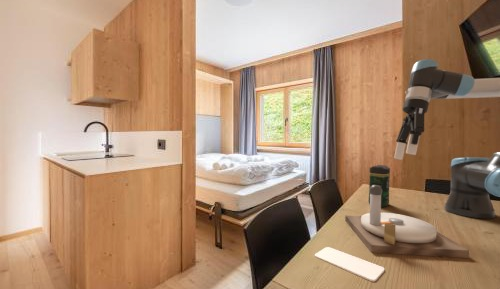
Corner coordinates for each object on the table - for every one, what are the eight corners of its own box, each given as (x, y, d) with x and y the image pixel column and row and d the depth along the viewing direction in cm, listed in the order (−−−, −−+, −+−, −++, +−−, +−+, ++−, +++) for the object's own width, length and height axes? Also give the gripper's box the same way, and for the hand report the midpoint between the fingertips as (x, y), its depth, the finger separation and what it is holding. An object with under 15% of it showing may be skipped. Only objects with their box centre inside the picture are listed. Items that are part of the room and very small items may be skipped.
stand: (413, 223, 83) (414, 204, 83) (468, 258, 59) (469, 231, 59) (345, 220, 86) (345, 202, 86) (371, 252, 62) (371, 227, 62)
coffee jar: (385, 208, 101) (386, 166, 100) (366, 204, 106) (367, 165, 106) (391, 204, 108) (392, 165, 107) (373, 200, 113) (373, 163, 113)
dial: (397, 216, 84) (398, 177, 84) (455, 240, 64) (456, 190, 64) (348, 219, 80) (349, 179, 80) (393, 246, 61) (394, 193, 60)
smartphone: (327, 246, 65) (385, 268, 54) (327, 248, 65) (385, 271, 54) (313, 255, 60) (374, 281, 49) (313, 257, 60) (374, 284, 49)
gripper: (395, 110, 97) (383, 158, 95) (418, 85, 74) (403, 148, 72) (415, 113, 94) (404, 162, 92) (445, 89, 71) (431, 154, 69)
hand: (403, 156), depth 82 cm, fingers open, 13 cm apart
